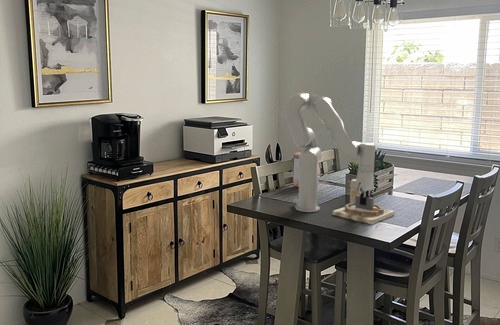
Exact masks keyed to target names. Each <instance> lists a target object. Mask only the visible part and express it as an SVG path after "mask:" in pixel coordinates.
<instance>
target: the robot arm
mask: <svg viewBox="0 0 500 325" xmlns="http://www.w3.org/2000/svg"><path fill="white" fill-rule="evenodd" d="M283 110H284V111H283V113H284V118H285V120H286V122H287V125H288V129H289V132H290V135H291V137H292V140H293V143H294V145H295V146H296V147H298V148H300V149H301V154H300V156H299V187H298V198H297V197H296V198H294V199H293V201H292V202H293V203H295V204H296V205H295V208H294V209H295V210H296V211H298V212H303V213H315V212H319V211H320V209H321V208H320V206H319V205H318V186H319V185H318V184H319V181H318V180H319V170H318V164H319V163H320V161H321V159H322V157H323V156H322V155H323V154H322V150H321V148H320V144H319V142H318V139H317V136H316V134H315V132H314V131H313V129H312V128H310V127H308V126H307V124H306V122H305V121H306V120H305V118H304V116H303V115H302V111H303V110H306V111H311V112H314V113H315V114H316V116H317V117H318V118H319V120H320V122H321V123H322V124H323V126H324V127H325V129H326V130H327V132H328V134H329V136H330V138H331V139H332V141H333V143H334V145H335V147H336V148H337V149H338V150H339V152H340V154H341V155H342V156H343V157H344V158H346V159H348V160H353V159H354V158H355V157H357V156H358V170H357V174H356V178H355V179H356V190H357V191H358V192H357V194H359V195H360V204H361V205H366V197H371V196H370V195H371V192H372V191H373V189H374V184H375V175H374V174H375V173H374V172H375V158H376V145H375V143H372V142H359V141H353V140H351V138H350V137H349V136H348V133H347V132H346V130H345V125H344V122H343V120H342V119H341V117H340V116H339V114H338V113H337V111H336V110H335V109H334V107H333V102H332V100H331V98H329V97H327V96H322V95H317V94H313V93H308V92H298V93H295V94H293V95H291V96H290V97H289V98H287V101H286V103H285V104H284V109H283ZM362 192H363V193H364V194H363V193H362Z"/></svg>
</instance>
